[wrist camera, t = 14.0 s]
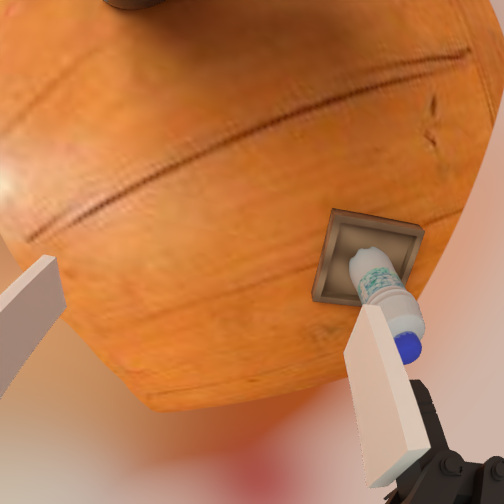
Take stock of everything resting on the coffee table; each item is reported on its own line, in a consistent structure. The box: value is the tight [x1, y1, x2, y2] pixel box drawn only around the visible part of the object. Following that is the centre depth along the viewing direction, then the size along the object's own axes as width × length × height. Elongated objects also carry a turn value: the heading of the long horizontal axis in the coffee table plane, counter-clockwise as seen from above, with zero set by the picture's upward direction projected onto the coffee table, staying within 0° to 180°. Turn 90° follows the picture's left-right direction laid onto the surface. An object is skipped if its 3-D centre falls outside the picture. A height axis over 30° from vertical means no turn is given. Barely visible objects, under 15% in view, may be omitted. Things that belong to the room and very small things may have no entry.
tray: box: [311, 208, 425, 307], centre depth 45 cm, size 14×14×2 cm
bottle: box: [349, 247, 425, 365], centre depth 37 cm, size 7×7×20 cm
